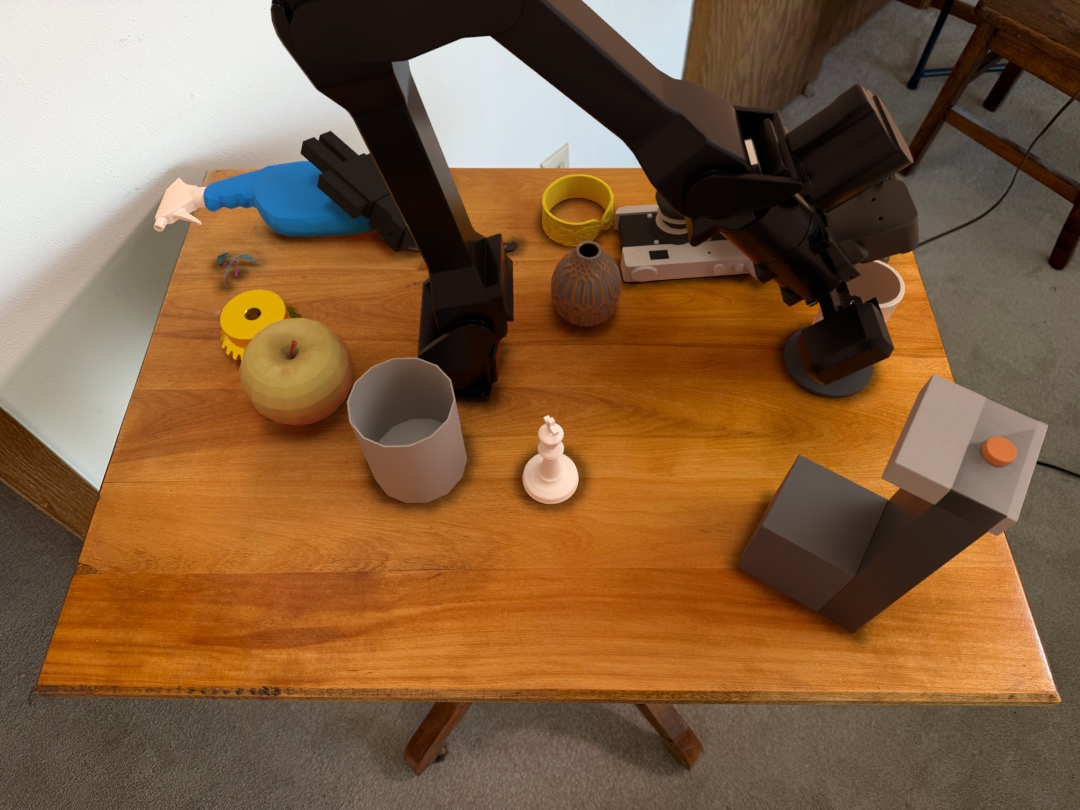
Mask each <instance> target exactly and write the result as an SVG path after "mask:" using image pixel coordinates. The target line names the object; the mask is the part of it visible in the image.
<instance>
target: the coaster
mask: <svg viewBox="0 0 1080 810" xmlns="http://www.w3.org/2000/svg"><path fill="white" fill-rule="evenodd" d="M806 327H807V326H806ZM806 327H803V328H800V329H798V330H797V331H795V332H794V333H792V334H791V336H790V337H789V338H788V339H787V341H786V343H785V346H784V348H783V349H784V350H783V363H784V366H785V369H786V371H787V373H788V374H789V376H790V377H791V378H792V379H793V380H794V381H795V382H796V383H797V385H799V386H801V387H802V388H804V389H805V390H807V392H808V391H809V392H810V393H813V394H814V395H815V394H816V395H818V396H821V397H825V398H833V399H835V398H837V399H839V398H847V397H850V396H854V395H857V394H858V393H859V392H861V391H863V390H864V389H865V388H866V387H867V386H868V384H869V382H871V380H872V377H873V374H874V364H873V365H871V366H869V367H867V368H864V369H862V370H860V371H858V372H855V373H853V374H851V375H848V376H846V377H844V378H842V379H839V380H837V381H835V382H833V383H830V384H828V385H823V384H820V383H818V382H816V381H815V380H814V379H812V378H811V377H810V376H809V375H807V374H806V370H805V367H804V363H803V359H802V356H801V352H800V348H799V345H798V341H797V339H798V337H799V335H800V333H801V331H802V329H804V328H806Z"/></svg>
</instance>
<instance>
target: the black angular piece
mask: <svg viewBox="0 0 1080 810" xmlns="http://www.w3.org/2000/svg"><path fill="white" fill-rule="evenodd" d="M300 155H301V156H302V157H304V158H305V159H306V161H309V162H311V163H312V164H313V165H314V166H315V167H316V168H317V169H318V170H320V171H321V172H322V174H320V175H319V179H318V184H317V187H318V188H319V189H320V190H321V191H322V192H323V193H325V194H326V195H327V196H328V197H329V198H330V199H331V200H332V201H334V202H335V203H336V204H337V205H338V206H339V207H340V208H342V209H343V210H344V211H345V212H346V213H347V214H348V215H349V216H351V217H352V218H353V219H355V218H357V217H359V216H361V215H362V216H363V217H365V218H366V219H368V218H370V217H371V218H370V221H369V225H370V226H371V227H372V228H373V229H374V230H373V231H375V232H376V233H377V234H379V235H381V236H382V237H383V239H382V242H383V243H384V244H386V245H387V246H388V247H389V248H390V249H392V251H393V252H395V253H397V252H402V251H403V250H405V249H408V248H407V247H408V246H410V245H412V244H414V243H415V242H414V240H413V238H412V236H411V234H410V232H409V230H408V228H407V226H406V224H405V222H404V220H403V218H402V216H401V214H400V212H399V210H398V208H397V206H396V204H395V202H394V200H393V198H392V196H391V194H390V192H389V190H388V188H387V186H386V184H385V182H384V180H383V178H382V176H381V174H380V172H379V170H378V168H377V166H376V164H375V162H374V160H373V158H372V156H371V154H370V152H368V153H367V154H366V153H365V152H363V153H361V154H358V153H357V152H356V151H355V150H354V149H352V148H351V147H350V146H349V145H348V144H347V143H346V142H344V141H343V139H341V138H340V137H339V136H338V135H337V134H335V133H334V132H333V131H332V130H329V131H326V132H323V133H320V134H319V136H318V139H317V138H316V137H315V136H313V137H310V138H308V139H304V140H303V141H302V143H301V148H300Z"/></svg>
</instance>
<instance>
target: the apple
mask: <svg viewBox="0 0 1080 810" xmlns="http://www.w3.org/2000/svg"><path fill="white" fill-rule="evenodd" d="M240 361H241V360H240ZM353 366H354V364H353V359H352V356H351V353H350V351H349V349H348V347H347V345H346V343H345V342H344V340H343V337H341V335H340V334H339V333H337V332H336V331H335V330H333V329H332V328H331V327H329V326H328V325H326V324H325V323H322V322H321V321H317V320H313V319H311V318H306V317H301V318H292V319H283V320H280V321H277V322H274V323H271V324H270V325H268V326H267V327H265V328H264V329H262V330H261V331H259V332H258V333H257V334H256V335H255V336H254V337H253V339H252V340H251V341H250V342H249V344H248V345H247V346H246V348H245V350H244V354H243V357H242V361H241V362H240V365H239V371H238V372H239V377H240V379H239V380H240V384H241V388H242V390H243V393H244V395H245V396H246V397H247V399H248V400H249V402H251V404H252V405H253V406H254V408H255V409H256V410H257V412H258V413H259V415H261V416H264V417H265V418H267V419H270V421H271V420H272V421H273V422H276V423H279V424H284V425H291V426H306V425H311V424H315V423H319V422H320V421H322V420H324V419H325V418H327V417H329V416H331V415H333V414H334V413H335V412H336V411H337V410H338V409H339V407H341V405H343V404H344V402H345V400H346V399H347V397H348V394H349V392H350V389H351V387H352V385H353V383H354V367H353Z"/></svg>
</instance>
